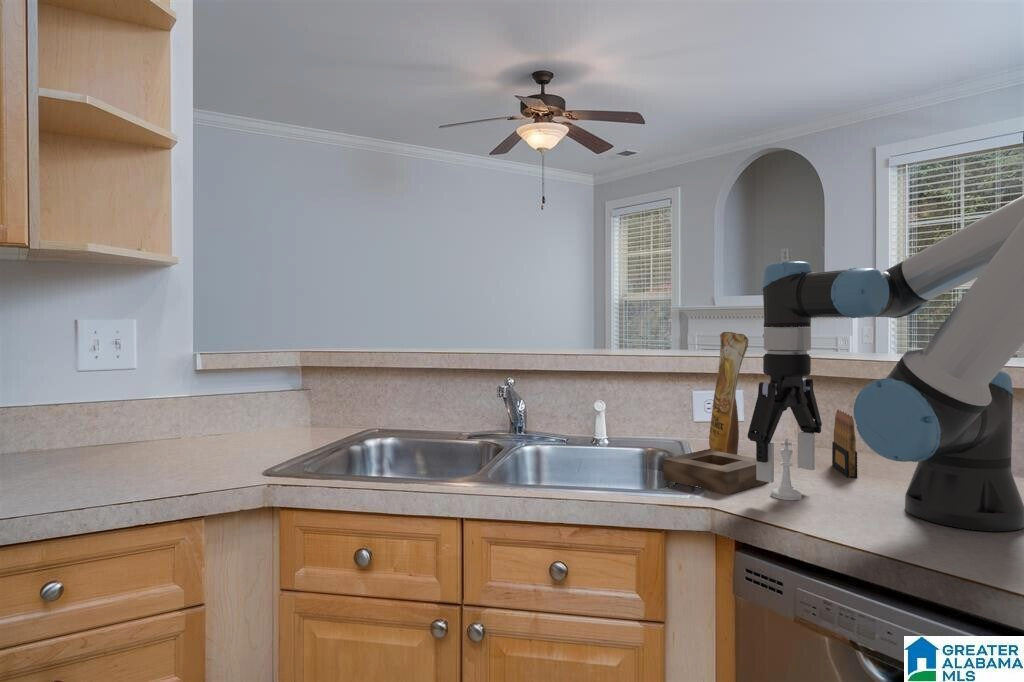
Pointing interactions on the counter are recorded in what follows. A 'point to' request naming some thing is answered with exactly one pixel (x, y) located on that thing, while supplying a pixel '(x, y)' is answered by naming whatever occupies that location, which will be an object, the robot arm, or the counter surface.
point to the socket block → (712, 471)
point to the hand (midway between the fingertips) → (786, 474)
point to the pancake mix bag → (727, 394)
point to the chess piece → (786, 477)
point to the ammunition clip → (844, 445)
